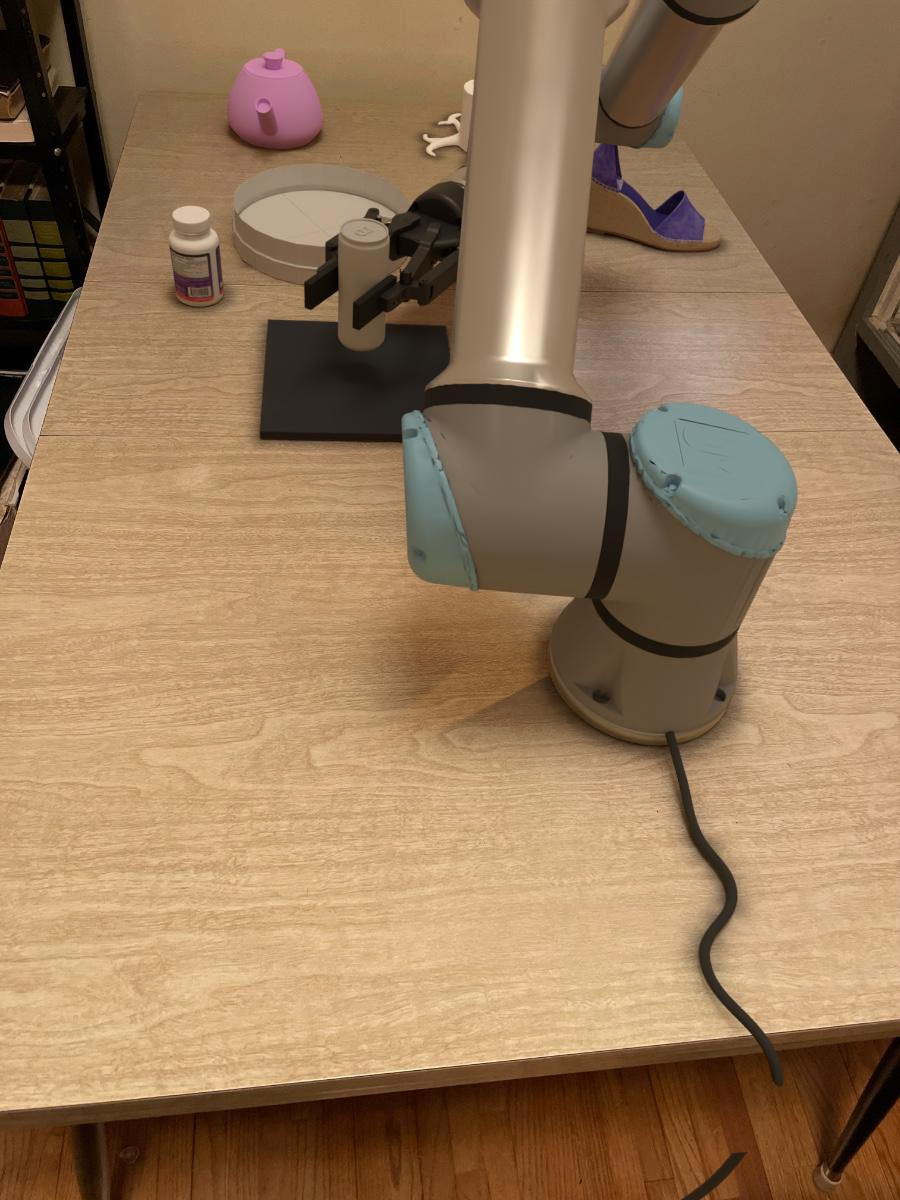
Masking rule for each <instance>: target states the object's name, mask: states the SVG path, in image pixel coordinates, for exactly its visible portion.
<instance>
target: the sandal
mask: <svg viewBox="0 0 900 1200" xmlns="http://www.w3.org/2000/svg"><path fill="white" fill-rule="evenodd" d="M619 154H620V153H619V146H618V145H610V144H602V143H599V144H598V146H597V147H596V148H595V149H594V155H593V165H592V176H591V187H590V198H589V209H588V219H587V230H586V232H589V233H593V234H598V235H605V234H611V235H614V236H615V235H616V236H619V237H623V238H625V239H629V240H633V241H635V242H638V243H642V244H645V245H648V246H650V247H654V248H657V249H661V250H664V251H669V252H683V253H695V252H706V251H710V250H714V249H716V248H717V247H719V245H720V243H721V241H722V238H723V233H722V231H721V230H720V229H719V228H717V227H715V226H714V225H712V224H709V223H706V218H705V217H704V216H703V215H702V214H700V212H699V211H698V210H697V209H696V208H695V206H694V205H693V203H692V202H691V201H690V199H689V197H688V194H687V192H686V191H685V190H684V189H681V190H680V189H679V190H677V191H676V192H675V193H673V194H671V196H668V198H667V199H666V200H665V201H664V202H662V203H661V204H660V205H658V207H657V208H655V209H654V208H653V207H652V206H651V204H649V203H648V202H647V200H646V199H645V198H644V197H643V196H642V194H641V193H640V192H639V191H637V189H635V187H633V186H632V185H631V184H630V183H628V182H627V181H626V180H624V179H623V174H622V169H621V162H620V155H619Z"/></svg>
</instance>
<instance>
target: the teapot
mask: <svg viewBox="0 0 900 1200" xmlns="http://www.w3.org/2000/svg"><path fill="white" fill-rule="evenodd" d="M228 96H229V97H228V101H227V109H226V110H227V111H226V115H227V116H226V118H227V122H228V124H229V126H230V128H231V129H232V130H233V131H234V132H235V134H236V135H237V136H239V138H240V139H241V140H243V141H244V142H246V143H247V144H250V145H253V146H257V147H260V148H265V149H272V150H273V149H274V150H286V149H294V148H295V149H297V148H300V147H303V146H306V145H307V144H309V143H310V142H312V141H313V140H314V139H315V138H316V137H317V135H318V134H319V132H320V131H321V130H322V127H323V125H324V114H323V108H322V104H321V100H320V97H319V95H318V93H317V90H316V87H315V86H314V84H313V82H312V80H311V79H310V78H309V76H308V74H307V73H306V71H305V69H304V68H303V67H302V66H301V65H300V64H299V63H297V62H296V61H294V60H291V59H287V55H286V51H285V49H283V48H281V47H278V48H275V49H274V51H266V52H264V53H263V54H262V56H261V57H255V58H252V59H250V60H249V61H247V62H246V63H245V64H244V65H243V67H242V69H241V70H240V71H239V73H238V75H237V77H236V79H235V81H234V83H233V84H232V87H231V90H230V92H229V95H228Z"/></svg>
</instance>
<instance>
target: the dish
mask: <svg viewBox="0 0 900 1200" xmlns="http://www.w3.org/2000/svg"><path fill="white" fill-rule="evenodd" d="M232 205H233V214H234V215H233V218H232V228H233V229H232V230H233V240H234V245H235V246H234V248H235V250H236V252H237V253H238V254H239V256H240V258H241V259H242V260H243V261H245V262H246V263H247V265H249V266H251V267H252V268H253V269H255V270H256V271H258V272H260V273H262V274H265V275H267V276H269V277H272V278H274V279H277V280H280V281H285V282H289V283H292V284H296V285H301V286H304V282H305V281H306V280H308V279H309V278H311V277H312V276H314V275H315V274H317V269H318V268H319V267H320V266H322V265H323V264H324V263H325V242H326V241H328V240H329V239H331V238H332V237H334V236H336V235H337V234H339V233H340V227H341V225H342V224H343V223H344V222H346V221H347V220H351V219H356V218H363V217H365V215H366V213H367V211H368V209H369V208H377V209H379V215H381V216H382V217H387V218H393V217H394V216H395V215H397V214H401V213H405V212H407V210H408V209H409V208H410V206H411V204H410V202H409V199H408V197H407V196H406V194H405V193H404V192H403V191H402V190H401V189H400V188H399V187H398V186H397V185H395V184H393V183H391V182H390V181H389V180H387V179H386V178H384V177H381V176H379V175H376V174H374V173H371V172H368V171H366V170H362V169H357V168H354V167H349V166H346V165H337V164H328V163H298V164H297V163H296V164H288V165H281V166H277V167H272V168H268V169H265V170H262V171H259V172H258V173H256V174H254V175H251V176H249V177H247V178H245V180H244V181H243V182H242V183H241V184H239V185H238V186H237V187H236V189H235V192H234V194H233V196H232ZM407 258H408V256H405V257H403V258H400V259H398V260H396V261H391V260H390V259H389V264H388V275H390V274H392V273H393V272H394V271H396V270H398V269H400V267H402V265H403V264H404V263H405V261H406V259H407Z"/></svg>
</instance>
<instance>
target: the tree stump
mask: <svg viewBox="0 0 900 1200" xmlns="http://www.w3.org/2000/svg"><path fill="white" fill-rule="evenodd" d="M473 89H474V79H470V80H468V81H467V82H465V83H464V84H463V92H462V102H461V111H460V112H458V113H457V112H456V113H452V114H451V115H449V116H448V118H447V120H443V121H441V120H440V121H439V122H437V125H438V126H442V125H445V126H450V125H454V127H455V130H456V131H457V133H455V134H453V135H450V136H445V137H442V138H441V137H428V134H427V133H425V134H423V135H422V139H423V141H425V143H428V145H427V146H426V148H425V152H426V154H428V155H429V156H433V157H436V156H437V155H436V153H435V152H434V150H437V149H440V148H445V147H450V146H457V147H459V148H460V149H461V150H463V151H464V152H466V153H467V147H468V139H469V131H470V121H471V111H472V100H473ZM459 117H460V121H459V120H458V119H457V118H459Z"/></svg>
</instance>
